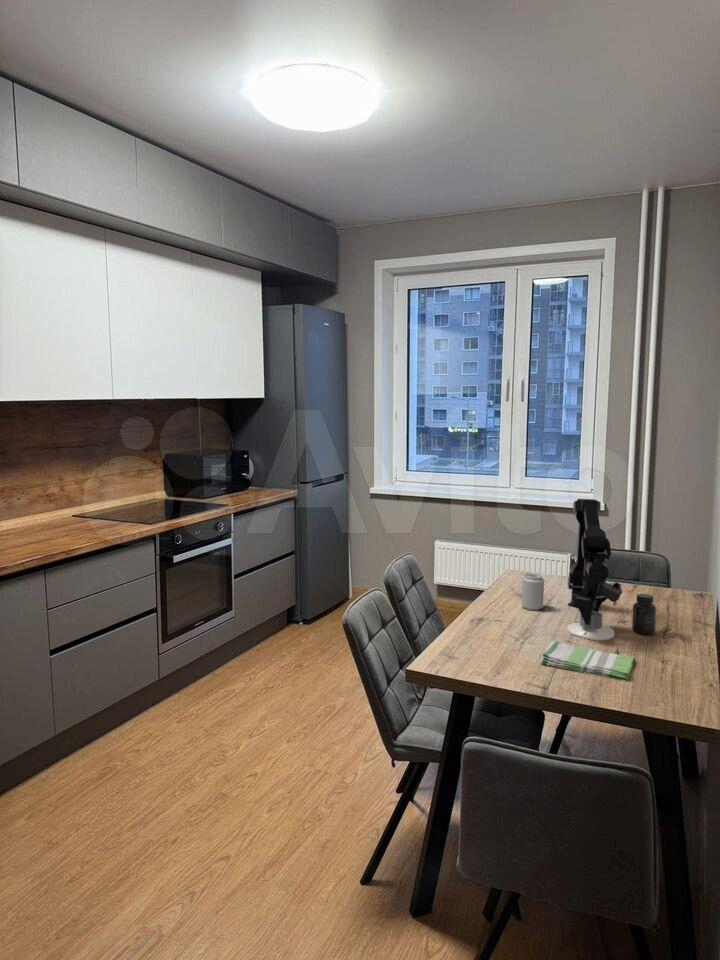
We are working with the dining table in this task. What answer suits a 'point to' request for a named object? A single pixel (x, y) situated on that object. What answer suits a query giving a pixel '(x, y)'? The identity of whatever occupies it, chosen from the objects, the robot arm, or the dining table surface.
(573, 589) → the robot arm
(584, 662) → the dish towel
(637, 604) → the supplement bottle
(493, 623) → the dining table surface
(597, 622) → the grey segmented ring
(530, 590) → the can
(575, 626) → the shaft hub
